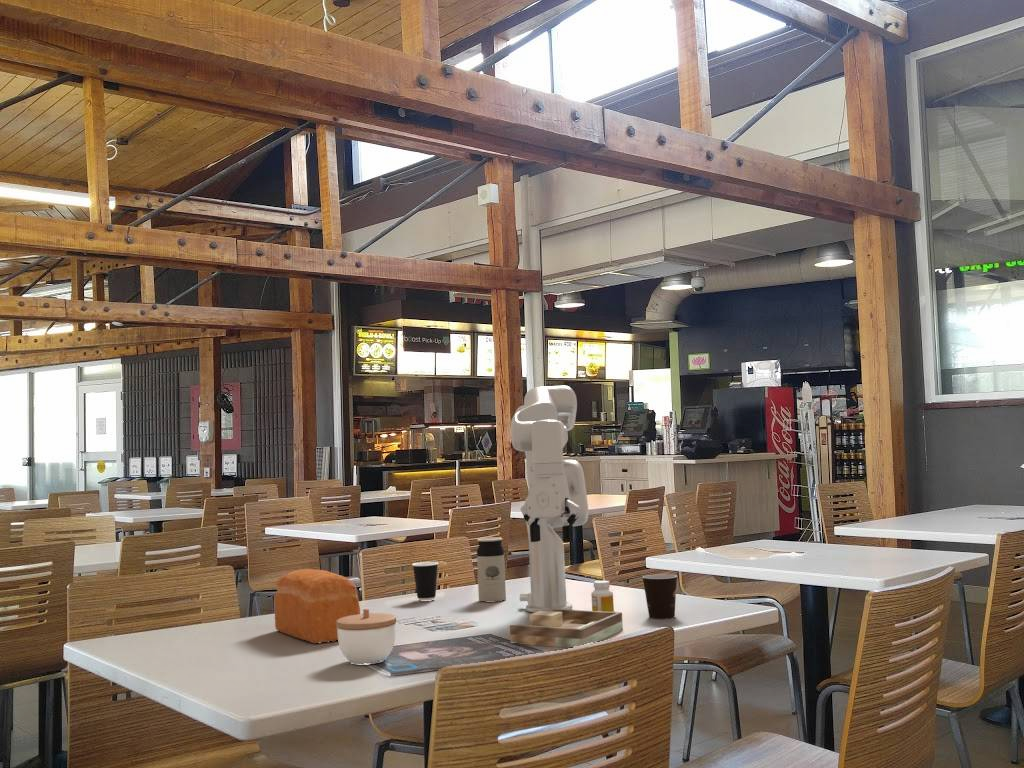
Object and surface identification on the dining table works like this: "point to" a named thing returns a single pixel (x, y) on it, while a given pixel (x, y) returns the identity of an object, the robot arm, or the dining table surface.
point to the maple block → (546, 619)
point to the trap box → (570, 629)
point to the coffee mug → (660, 595)
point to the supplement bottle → (602, 597)
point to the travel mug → (491, 569)
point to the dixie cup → (425, 579)
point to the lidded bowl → (366, 636)
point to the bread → (313, 604)
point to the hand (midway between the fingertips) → (551, 541)
